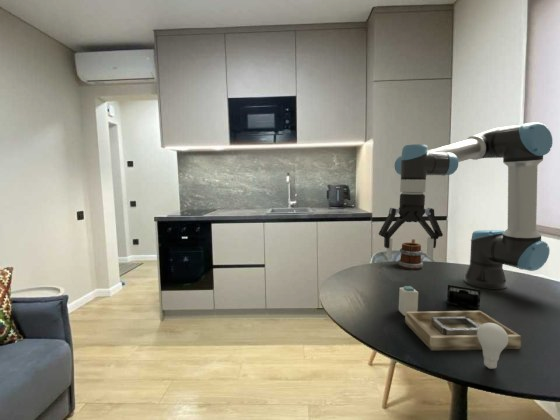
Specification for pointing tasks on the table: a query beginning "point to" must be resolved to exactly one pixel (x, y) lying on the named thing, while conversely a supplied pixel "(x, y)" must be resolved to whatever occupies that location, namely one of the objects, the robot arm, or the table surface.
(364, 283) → the table surface
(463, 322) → the grey rectangular frame
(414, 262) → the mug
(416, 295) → the white block teal patch
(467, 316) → the birch box
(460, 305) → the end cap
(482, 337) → the lightbulb
